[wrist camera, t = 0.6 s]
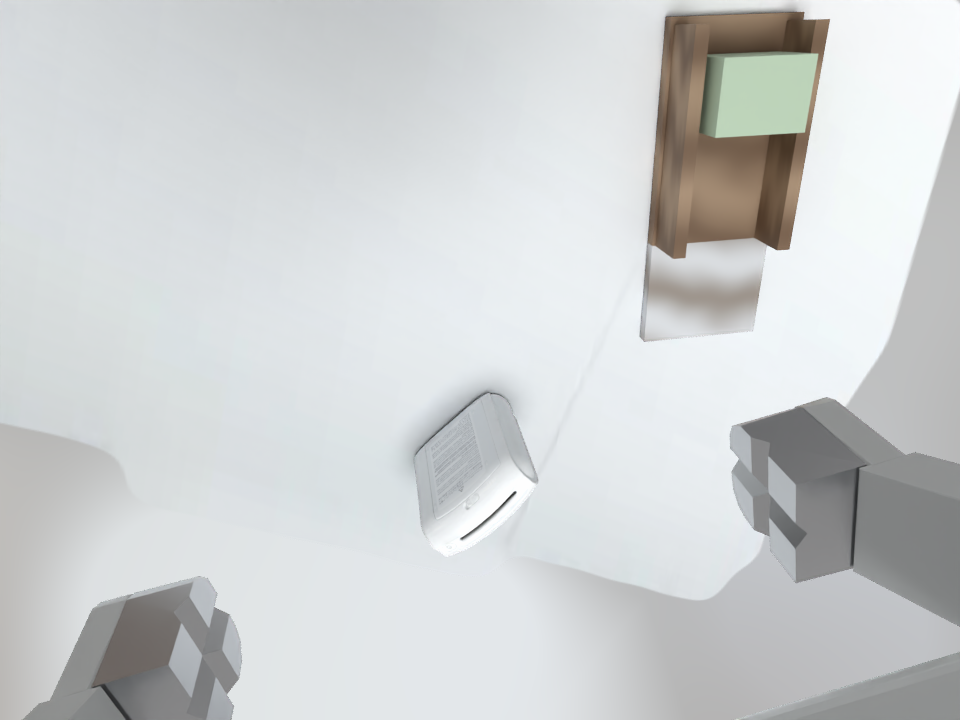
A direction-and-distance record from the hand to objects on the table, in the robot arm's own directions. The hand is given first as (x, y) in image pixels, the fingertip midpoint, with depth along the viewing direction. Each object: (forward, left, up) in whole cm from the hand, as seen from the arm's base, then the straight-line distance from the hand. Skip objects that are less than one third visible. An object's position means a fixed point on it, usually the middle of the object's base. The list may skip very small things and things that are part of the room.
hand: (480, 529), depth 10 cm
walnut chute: (+5, +25, -43) cm, 50 cm away
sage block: (-2, +25, -42) cm, 49 cm away
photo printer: (+26, +4, -43) cm, 51 cm away
